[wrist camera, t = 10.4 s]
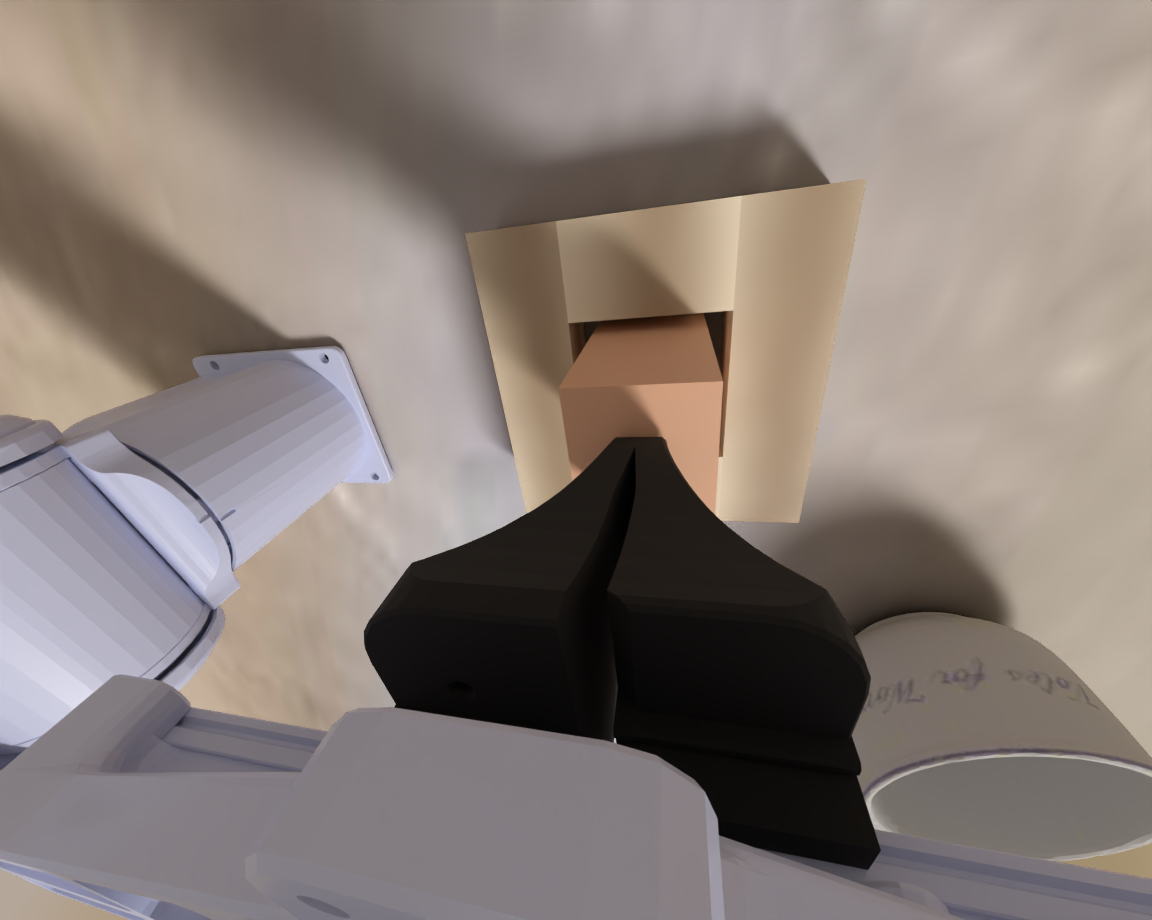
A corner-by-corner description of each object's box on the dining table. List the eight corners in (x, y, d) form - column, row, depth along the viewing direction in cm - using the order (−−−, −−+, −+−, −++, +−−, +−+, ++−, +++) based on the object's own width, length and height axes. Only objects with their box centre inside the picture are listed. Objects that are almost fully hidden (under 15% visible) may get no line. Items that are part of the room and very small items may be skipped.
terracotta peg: (610, 406, 19) (576, 512, 13) (602, 317, 17) (558, 388, 11) (699, 403, 18) (715, 516, 12) (702, 309, 16) (723, 381, 10)
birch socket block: (543, 479, 22) (527, 514, 20) (496, 229, 16) (464, 233, 14) (782, 482, 20) (798, 522, 17) (831, 183, 14) (866, 178, 11)
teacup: (1033, 561, 19) (1223, 748, 13) (1044, 695, 23) (1193, 890, 17) (734, 614, 25) (756, 763, 18) (785, 714, 29) (819, 866, 22)
